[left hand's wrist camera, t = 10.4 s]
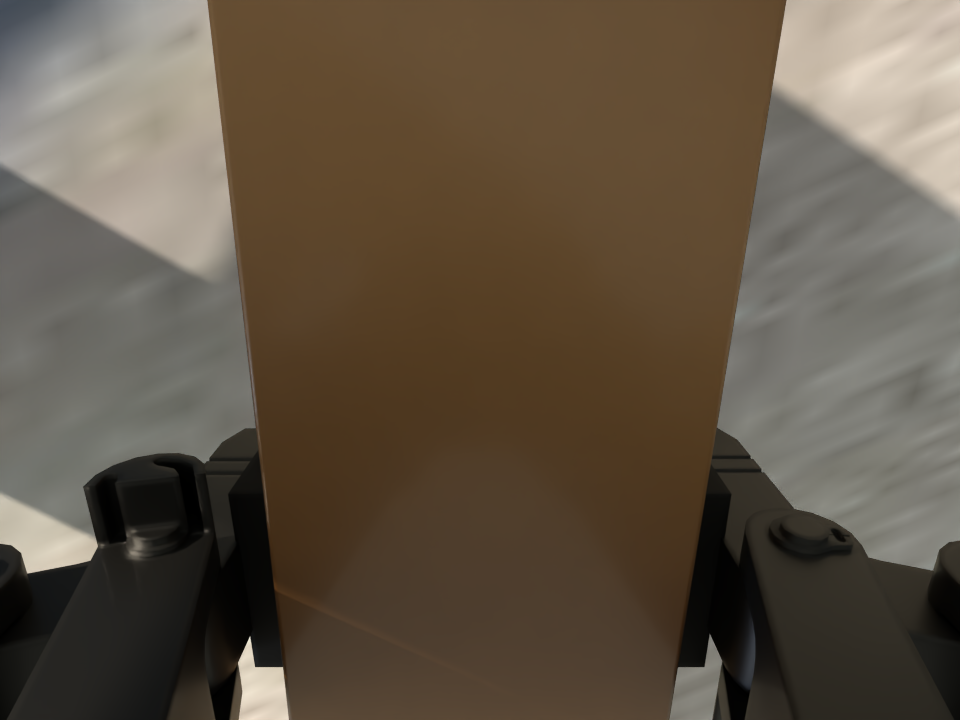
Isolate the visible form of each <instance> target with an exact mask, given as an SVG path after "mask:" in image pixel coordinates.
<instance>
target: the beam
mask: <svg viewBox="0 0 960 720" xmlns="http://www.w3.org/2000/svg"><path fill="white" fill-rule="evenodd" d="M207 1H208V10H209V18H210V27H211V36H212V45H213V54H214V62H215V71H216V80H217V89H218V98H219V107H220V115H221V124H222V133H223V142H224V151H225V159H226V168H227V177H228V186H229V195H230V203H231V212H232V221H233V230H234V239H235V248H236V256H237V265H238V274H239V283H240V292H241V300H242V309H243V318H244V327H245V336H246V344H247V353H248V362H249V371H250V380H251V388H252V397H253V406H254V415H255V424H256V433H257V441H258V450H259V459H260V468H261V477H262V485H263V494H264V503H265V512H266V521H267V529H268V538H269V547H270V556H271V565H272V574H273V582H274V591H275V600H276V609H277V618H278V626H279V635H280V644H281V653H282V662H283V670H284V679H285V688H286V697H287V706H288V715H289V720H669V718H670V712H671V706H672V699H673V693H674V687H675V681H676V675H677V669H678V662H679V656H680V650H681V644H682V638H683V632H684V626H685V619H686V613H687V607H688V601H689V595H690V589H691V583H692V576H693V570H694V564H695V558H696V552H697V546H698V540H699V533H700V527H701V521H702V515H703V509H704V503H705V497H706V490H707V484H708V478H709V472H710V466H711V460H712V454H713V447H714V441H715V435H716V429H717V423H718V417H719V411H720V404H721V398H722V392H723V386H724V380H725V374H726V368H727V361H728V355H729V349H730V343H731V337H732V331H733V325H734V318H735V312H736V306H737V300H738V294H739V288H740V282H741V275H742V269H743V263H744V257H745V251H746V245H747V239H748V232H749V226H750V220H751V214H752V208H753V202H754V196H755V189H756V183H757V177H758V171H759V165H760V159H761V153H762V146H763V140H764V134H765V128H766V122H767V116H768V110H769V103H770V97H771V91H772V85H773V79H774V73H775V67H776V60H777V54H778V48H779V42H780V36H781V30H782V24H783V17H784V11H785V5H786V0H207Z"/></svg>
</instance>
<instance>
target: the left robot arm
mask: <svg viewBox="0 0 960 720" xmlns="http://www.w3.org/2000/svg"><path fill="white" fill-rule="evenodd" d="M84 491H85V495H86V500H87V504H88V508H89V512H90V516H91V520H92V524H93V528H94V532H95V536H96V540H97V544H98V548H97V550H96V552H95V553H94V555H93V557H92V559H91V561H88V562H84V563H80V564H75V565H70V566H65V567H60V568H55V569H49V570H44V571H39V572H34V573H29V574H27V572H26V568H25V565H24V562H23V558H22V555H21V553H20V552H19V551H18V550H17V549H15V548H14V547H13V546H11V545H5V544H0V720H239V712H240V705H241V698H242V686H241V678H240V672H239V666H238V661H239V659H240V657H241V655H242V653H243V650H244V648H245V646H246V644H247V641H248V639H249V637H251V643H252V650H253V656H254V662H255V667H283V662H282V653H281V644H280V635H279V626H278V618H277V609H276V600H275V591H274V582H273V574H272V565H271V556H270V547H269V538H268V529H267V521H266V512H265V503H264V494H263V485H262V477H261V468H260V459H259V450H258V441H257V433H256V428H245V429H244V430H242V431H240V432H239V433H237V434H235V435H234V436H232V437H230V438H229V439H227V440H225V441H224V442H222V443H221V445H220V446H219V447H218V448H217V450H216V451H215V452H214V453H213V454H212V456H211V457H210V460H209V461H207V462H206V463H205V464H204V463H203V462H201V461H200V460H199V459H197V458H196V457H194V456H189V455H185V454H180V453H167V454H154V455H148V456H143V457H137V458H134V459H131V460H128V461H125V462H122V463H119V464H116V465H113V466H111V467H110V468H108V469H106V470H104V471H102V472H100V473H99V474H97V475H95V476H94V477H93V478H92V479H91V480H90V481H89V482H88V483H87V484H86V485H85V486H84ZM709 634H710V635H711V637H712V639H713V641H714V643H715V646H716V648H717V650H718V652H719V654H720V657H721V659H722V666H721V672H720V678H719V684H718V690H717V696H716V702H715V708H714V713H713V719H712V720H960V541H955V542H949V543H948V544H946V545H945V546H944V547H942V548H941V549H940V550H939V553H938V556H937V560H936V563H935V566H934V570H933V571H931V570H926V569H921V568H916V567H910V566H905V565H900V564H895V563H890V562H884V561H880V560H876V559H872V558H868V556H867V554H866V552H865V550H864V549H863V547H862V545H861V544H860V543H859V542H858V540H857V539H856V538H855V537H854V536H853V535H852V533H850V532H849V531H847V530H846V529H844V528H843V527H841V526H840V525H838V524H837V523H835V522H833V521H831V520H828V519H826V518H824V517H821V516H819V515H816V514H814V513H810V512H805V511H800V510H796V509H794V508H793V507H792V506H791V504H790V503H789V502H788V501H787V500H786V498H785V497H784V496H783V495H782V494H781V492H780V491H779V490H778V489H777V487H776V486H775V485H774V484H773V483H772V481H771V480H770V479H769V478H768V477H767V475H766V474H765V473H762V472H761V468H760V467H759V466H758V464H757V463H756V462H755V461H754V460H753V459H751V458H750V455H749V453H748V452H747V451H746V450H745V449H744V447H743V446H742V445H741V444H740V443H739V441H738V440H737V439H735V438H733V437H732V436H730V435H728V434H726V433H725V432H723V431H721V430H720V429H718V428H717V429H716V435H715V441H714V447H713V454H712V460H711V466H710V472H709V478H708V484H707V490H706V497H705V503H704V509H703V515H702V521H701V527H700V533H699V540H698V546H697V552H696V558H695V564H694V570H693V576H692V583H691V589H690V595H689V601H688V607H687V613H686V619H685V626H684V632H683V638H682V644H681V650H680V656H679V662H678V667H704V666H705V660H706V653H707V647H708V641H709Z"/></svg>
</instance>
